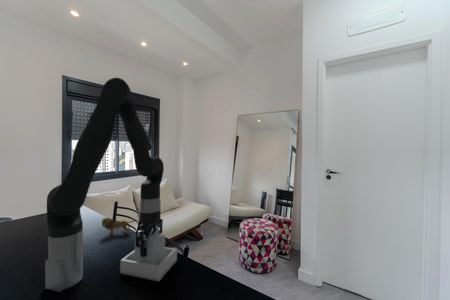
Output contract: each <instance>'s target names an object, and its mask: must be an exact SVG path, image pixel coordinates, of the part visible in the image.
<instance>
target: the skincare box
mask: <svg viewBox="0 0 450 300" xmlns="http://www.w3.org/2000/svg"><path fill="white" fill-rule="evenodd" d="M144 237H145V238H147V236H145V235H144ZM139 243H140V241H139ZM144 243H145V240H144ZM165 247H166V235H165V234H163V233H156V232H155V233H154V234H153V235H151V237H150V238H149V239H148V240H147V256H146V257H141V256H140V248H139V247H136V233H135V234H134V250H135V256H134V261H137V262H143V263H148V264H154V265H159V264H160V263H161V262H162V261H163V260H164V259H165Z"/></svg>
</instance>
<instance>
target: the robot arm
mask: <svg viewBox="0 0 450 300" xmlns="http://www.w3.org/2000/svg"><path fill="white" fill-rule="evenodd" d="M98 97H99V98H98V100H97V103H96V105H95V108H94V110H93V111H92V114H91V115H90V117H89V119H88V121H87V123H86V125H85V127H84V129H83V131H82V133H81V134H80V137H79V138H78V140H77V142H76V145H75V147H74V151H73V154H72V159H71V164H70V167H69V170H68V172H67V174H66V176H65V178H64V180H63V181H62V183H61V184H59V185H57V186H55V187H53V188H52V189H51V190H50V191H49V193H48V195H47V197H46V222H47V224H46V225H47V232H48V233H47V234H48V237H47V238H48V258H46V259H45V261H44V270H45V272H44V275H45V276H44V277H45V279H44V281H45V283H44V284H45V288H44V289H46V290H50V291H54V292H58V293H60V292H62V291H64V290H66V289H70V288H71V287H74V286H75V285H76V284H78V283H79V282H80V281H82V279H83V278H84V271H83V269H84V264H83V261H84V260H83V259H84V257H83V256H84V253H83V251H84V250H83V249H84V248H83V247H84V246H83V245H84V244H83V243H84V242H83V240H84V239H83V235H84V234H83V232H84V230H83V228H84V227H83V226H84V225H83V219H82V214H81V208H82V207H83V205H84V203H85V201H86V198H87V195H88V192H89V190H90V186H91V184H92V180H93V178H94V176H95V174H96V171H97V170H98V168H99V167H100V164H101V162H102V160H103V158H104V156H105V154H106V152H107V150H108V149H109V148H108V147H109V145H110V144H111V141H112V139H113V134H114V129H115V123H116V122H115V121H116V117H117V114H118V115H119V117H120V119H121V121H122V123H123V128H124V131H125V135H126V137H127V140H128V142H129V144H130V147H131V149H132V152H133V159H134V165H135V169H136V171H137V173H138V174H139V175H140V176H142V177H146V180H145V181H143V182H142V183H141V185H140V200H139V201H140V202H139V222H140V224H141V229H140V230H138V229H137V230H136V231H135V234H136V247H139V248H140V256H141V257H146V256H147V240H148V239H149V238H150V237H151V235H153V234H154V233H155V232H156V233H160V234H163V225H164V224H163V218H161V213H162V212H161V211H162V210H161V205H162V204H161V203H162V202H161V183H162V180H163V176H164V170H165V169H164V162H163V160H162V159H161V158H160V157H158V156H151V155H150V151H152V148H153V145H152V142H151V140H150V138H149V136H148V132H146V130H145V127H144V126H143V125H144V124H142V122H141V120H140V118H139V115H138V113H137V110H136V106H135V103H134V99H133V97H134V96H133V93H132V90H131V88H130V86H129V84H128V83H127V81H125V80H124V79H122V78H120V77H113V78H109V79H108V80H107V81H105V82H104V84H103V86H102V89H101V92H100V94H99V96H98ZM144 235H145V236H147V238H145V237H144ZM144 240H145V243H144ZM139 241H140V243H139Z"/></svg>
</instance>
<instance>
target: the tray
mask: <svg viewBox="0 0 450 300" xmlns="http://www.w3.org/2000/svg"><path fill="white" fill-rule="evenodd" d="M134 256H135V249H133V250H132V251H131V252H129V253H128V254H126V255H125V256H124V257H123V258H121V260H120V259H119V260H120V262H119V263H120V266H119V271H120V272H119V273H120V275H126V276H130V277H134V278H140V279H145V280H149V281H154V282H160V281H161V280H162V279H163V278H164V276H165V275H166V274H167V273H168V272H169V271H170V270H171V268H172V267H173V266H174V265H175V264H176V262H177V261H178V249H177V248H176V247H175V248H174V247H167V246H165V259H164V260H163V261H162V262H161V263H160V264H159V265H154V264H148V263H143V262H137V261H134Z"/></svg>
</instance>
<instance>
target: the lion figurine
mask: <svg viewBox="0 0 450 300" xmlns="http://www.w3.org/2000/svg"><path fill="white" fill-rule="evenodd" d="M101 226H102V228H105V229H106V230H109V231H110V232H109V236H113V235H114V229H116V230H117V229H118V230H119V229H121V228H122V229H123V231H122V233H125V232H126V233H125V234H126V235H129V234H130V232H133V231H134V230H132V229H131V228H130V224H129V222H128V221H127V220H120V221H116V220H115V219H113V218H109V217H105V218H103V219H102V220H101Z"/></svg>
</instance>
